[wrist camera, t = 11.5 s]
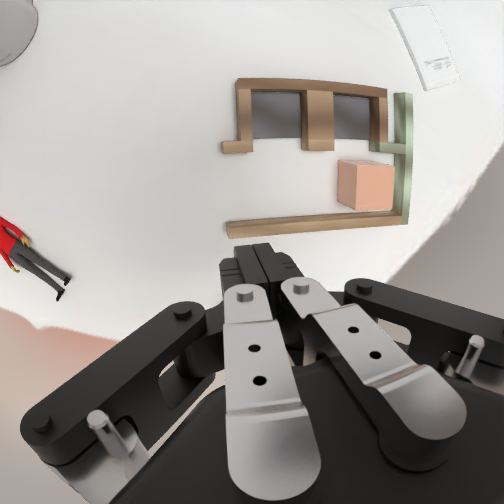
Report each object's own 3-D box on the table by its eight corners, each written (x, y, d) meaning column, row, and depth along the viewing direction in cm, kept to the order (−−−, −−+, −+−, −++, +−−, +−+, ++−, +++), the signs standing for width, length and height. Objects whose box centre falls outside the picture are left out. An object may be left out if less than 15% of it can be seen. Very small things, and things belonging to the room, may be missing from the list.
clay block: (337, 160, 35) (357, 165, 30) (372, 161, 35) (394, 166, 31) (336, 200, 37) (355, 210, 32) (371, 199, 37) (392, 208, 33)
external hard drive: (423, 7, 28) (455, 80, 33) (386, 11, 28) (421, 91, 33) (430, 4, 26) (462, 79, 31) (392, 8, 27) (429, 90, 31)
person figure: (51, 310, 31) (-43, 227, 25) (58, 302, 35) (-30, 225, 28) (69, 278, 32) (-27, 194, 25) (75, 272, 36) (-14, 195, 29)
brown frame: (219, 82, 29) (220, 78, 27) (401, 94, 32) (412, 93, 30) (227, 231, 36) (228, 238, 33) (397, 219, 39) (407, 224, 37)
